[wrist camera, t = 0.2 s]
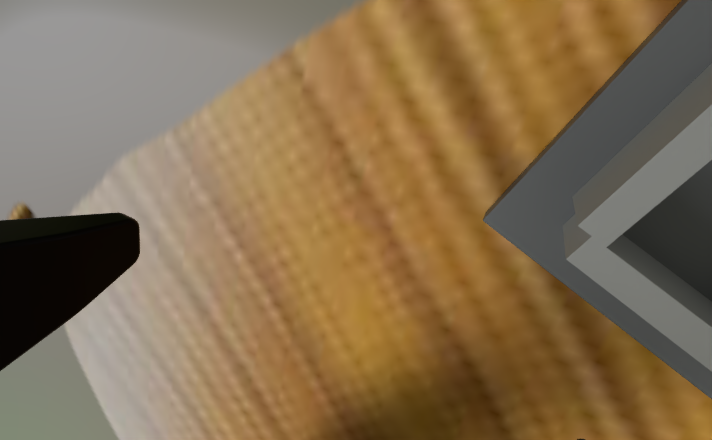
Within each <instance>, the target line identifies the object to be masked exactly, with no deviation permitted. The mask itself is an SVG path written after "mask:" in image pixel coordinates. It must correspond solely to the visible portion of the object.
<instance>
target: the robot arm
mask: <svg viewBox="0 0 712 440" xmlns="http://www.w3.org/2000/svg"><path fill="white" fill-rule="evenodd" d="M139 254H140V235H139V224H138V222H137V221H136V220H135V219H133V218H131V217H129V216H127V215H125V214H122V213H106V214H91V215H76V216H61V217H47V218H31V219H16V220H2V221H0V371H1V370H2V369H4V368H5V367H6V366H8V365H9V364H10V363H12V362H13V361H14V360H16V359H17V358H18V357H20V356H21V355H23V354H24V353H25V352H27V351H28V350H29V349H31V348H32V347H33V346H35V345H36V344H37V343H39V342H40V341H41V340H43V339H44V338H45V337H47V336H48V335H49V334H51V333H52V332H53V331H55V330H56V329H58V328H59V327H60V326H62V325H63V324H64V323H66V322H67V321H68V320H70V319H71V318H72V317H73V316H75V315H76V314H77V313H79V312H80V311H81V310H82V309H83V308H84V307H86V306H87V305H88V304H89V303H90V302H91V301H92V300H94V299H95V298H96V297H97V296H98V295H99V294H100V293H101V292H103V291H104V290H105V289H106V288H107V287H108V286H109V285H111V284H112V283H113V282H114V281H115V280H116V279H117V278H118V277H120V276H121V275H122V274H123V273H124V272H125V271H126V270H127V269H129V268H130V267H131V266H132V265H133V264H134V263H135V262H136V261H137V259H138V257H139ZM577 440H585V439H577Z"/></svg>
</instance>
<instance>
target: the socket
mask: <svg viewBox="0 0 712 440" xmlns="http://www.w3.org/2000/svg"><path fill="white" fill-rule="evenodd" d="M483 221H484V222H485V223H487V224H488V225H489V226H490V227H492V228H493V229H494V230H496V231H497V232H498V233H499V234H501V235H502V236H503V237H505V238H506V239H507V240H508V241H510V242H511V243H512V244H514V245H515V246H516V247H517V248H519V249H520V250H521V251H523V252H524V253H525V254H526V255H528V256H529V257H530V258H532V259H533V260H534V261H535V262H537V263H538V264H539V265H540V266H542V267H543V268H544V269H546V270H547V271H548V272H549V273H551V274H552V275H553V276H555V277H556V278H557V279H558V280H560V281H561V282H562V283H564V284H565V285H566V286H567V287H569V288H570V289H571V290H573V291H574V292H575V293H576V294H578V295H579V296H580V297H582V298H583V299H584V300H585V301H587V302H588V303H589V304H591V305H592V306H593V307H594V308H596V309H597V310H598V311H599V312H601V313H602V314H603V315H605V316H606V317H607V318H608V319H610V320H611V321H612V322H614V323H615V324H616V325H617V326H619V327H620V328H621V329H623V330H624V331H625V332H626V333H628V334H629V335H630V336H632V337H633V338H634V339H635V340H637V341H638V342H639V343H641V344H642V345H643V346H644V347H646V348H647V349H648V350H649V351H651V352H652V353H653V354H655V355H656V356H657V357H658V358H660V359H661V360H662V361H664V362H665V363H666V364H667V365H669V366H670V367H671V368H673V369H674V370H675V371H676V372H678V373H679V374H680V375H682V376H683V377H684V378H685V379H687V380H688V381H689V382H691V383H692V384H693V385H694V386H696V387H697V388H698V389H700V390H701V391H702V392H703V393H705V394H706V395H707V396H708V397H710V398H711V399H712V0H682V1H681V2H680V3H679V4H678V5H677V6H676V7H675V8H674V9H673V10H672V12H671V13H670V14H669V15H668V16H667V17H666V18H665V19H664V20H663V21H662V22H661V23H660V25H659V26H658V27H657V28H656V29H655V30H654V31H653V32H652V33H651V34H650V35H649V36H648V37H647V39H646V40H645V41H644V42H643V43H642V44H641V45H640V46H639V47H638V48H637V49H636V50H635V52H634V53H633V54H632V55H631V56H630V57H629V58H628V59H627V60H626V61H625V62H624V63H623V65H622V66H621V67H620V68H619V69H618V70H617V71H616V72H615V73H614V74H613V75H612V76H611V77H610V79H609V80H608V81H607V82H606V83H605V84H604V85H603V86H602V87H601V88H600V89H599V90H598V92H597V93H596V94H595V95H594V96H593V97H592V98H591V99H590V100H589V101H588V102H587V103H586V105H585V106H584V107H583V108H582V109H581V110H580V111H579V112H578V113H577V114H576V115H575V116H574V118H573V119H572V120H571V121H570V122H569V123H568V124H567V125H566V126H565V127H564V128H563V129H562V130H561V132H560V133H559V134H558V135H557V136H556V137H555V138H554V139H553V140H552V141H551V142H550V143H549V145H548V146H547V147H546V148H545V149H544V150H543V151H542V152H541V153H540V154H539V155H538V156H537V158H536V159H535V160H534V161H533V162H532V163H531V164H530V165H529V166H528V167H527V168H526V169H525V170H524V172H523V173H522V174H521V175H520V176H519V177H518V178H517V179H516V180H515V181H514V182H513V183H512V185H511V186H510V187H509V188H508V189H507V190H506V191H505V192H504V193H503V194H502V195H501V196H500V198H499V199H498V200H497V201H496V202H495V203H494V204H493V205H492V206H491V207H490V208H489V209H488V210H487V212H486V213H485V216H484V218H483Z"/></svg>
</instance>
